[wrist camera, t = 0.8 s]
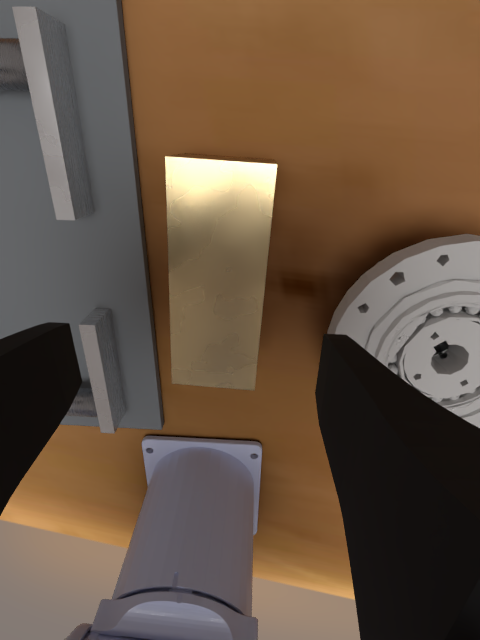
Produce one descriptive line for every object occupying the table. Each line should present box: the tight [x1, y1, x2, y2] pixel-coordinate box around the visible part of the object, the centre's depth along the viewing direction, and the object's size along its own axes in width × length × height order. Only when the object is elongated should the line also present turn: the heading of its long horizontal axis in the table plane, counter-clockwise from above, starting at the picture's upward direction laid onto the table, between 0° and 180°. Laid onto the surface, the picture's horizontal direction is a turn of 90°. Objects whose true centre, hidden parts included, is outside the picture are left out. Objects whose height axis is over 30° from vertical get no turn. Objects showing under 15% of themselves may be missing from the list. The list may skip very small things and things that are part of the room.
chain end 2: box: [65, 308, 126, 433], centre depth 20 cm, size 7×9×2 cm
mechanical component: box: [327, 234, 480, 428], centre depth 17 cm, size 10×4×10 cm
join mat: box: [0, 0, 164, 430], centre depth 18 cm, size 22×13×1 cm, turn 179°
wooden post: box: [165, 153, 277, 390], centre depth 17 cm, size 10×4×4 cm, turn 176°
